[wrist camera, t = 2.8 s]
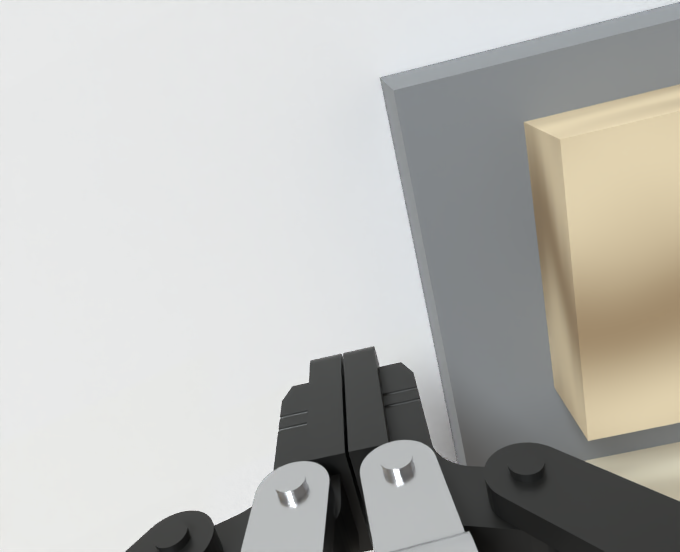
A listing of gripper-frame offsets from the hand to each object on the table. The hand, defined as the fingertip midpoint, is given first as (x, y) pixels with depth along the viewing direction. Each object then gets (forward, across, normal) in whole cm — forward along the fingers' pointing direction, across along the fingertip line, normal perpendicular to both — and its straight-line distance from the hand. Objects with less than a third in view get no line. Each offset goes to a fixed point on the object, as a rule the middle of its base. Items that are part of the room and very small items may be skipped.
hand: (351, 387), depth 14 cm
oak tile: (+2, -8, 0) cm, 9 cm away
